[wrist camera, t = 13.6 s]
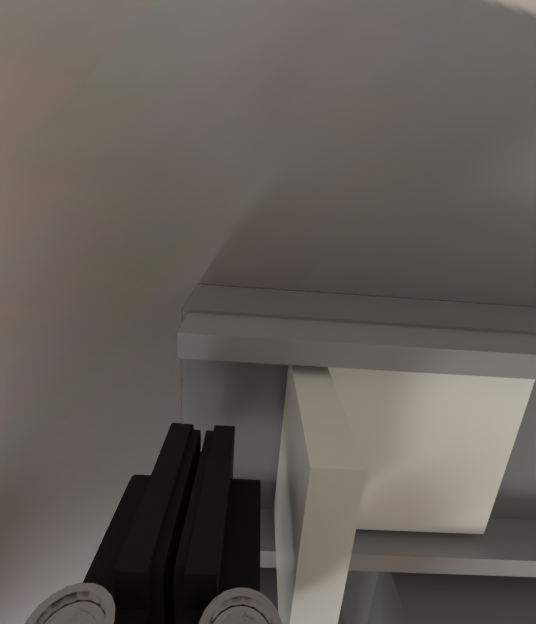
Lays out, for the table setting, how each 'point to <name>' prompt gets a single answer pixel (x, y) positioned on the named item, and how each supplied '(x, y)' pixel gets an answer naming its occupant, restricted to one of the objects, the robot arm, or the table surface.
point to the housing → (374, 356)
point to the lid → (381, 468)
